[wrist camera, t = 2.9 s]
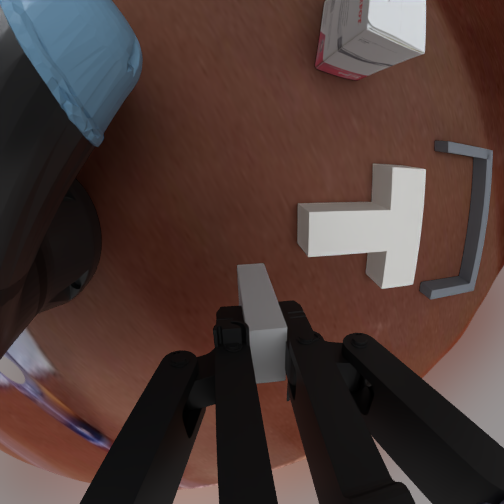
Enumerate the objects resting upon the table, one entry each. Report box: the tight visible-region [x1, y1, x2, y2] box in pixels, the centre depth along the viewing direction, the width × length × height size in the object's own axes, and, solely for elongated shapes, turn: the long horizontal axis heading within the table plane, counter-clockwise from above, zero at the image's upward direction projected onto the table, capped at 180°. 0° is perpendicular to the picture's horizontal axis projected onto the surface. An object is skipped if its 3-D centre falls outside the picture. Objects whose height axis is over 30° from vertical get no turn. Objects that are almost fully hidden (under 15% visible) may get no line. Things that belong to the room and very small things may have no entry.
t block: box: [297, 164, 426, 289], centre depth 28 cm, size 12×12×4 cm
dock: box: [419, 141, 493, 299], centre depth 30 cm, size 8×18×2 cm, turn 2°
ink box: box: [315, 0, 426, 80], centre depth 18 cm, size 9×5×12 cm, turn 170°
